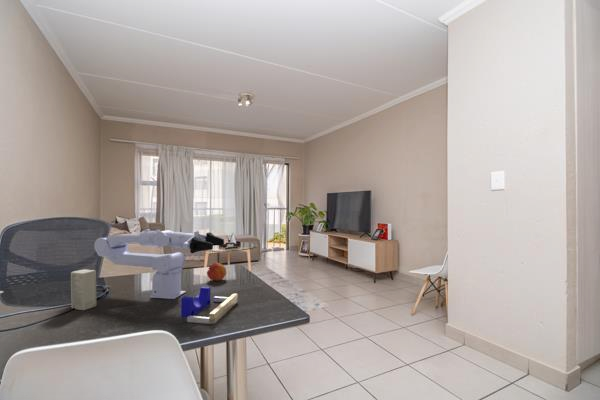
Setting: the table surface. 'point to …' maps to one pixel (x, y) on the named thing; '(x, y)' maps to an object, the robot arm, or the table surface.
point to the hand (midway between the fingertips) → (217, 244)
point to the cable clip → (195, 302)
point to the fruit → (216, 272)
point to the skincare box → (83, 289)
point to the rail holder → (216, 310)
